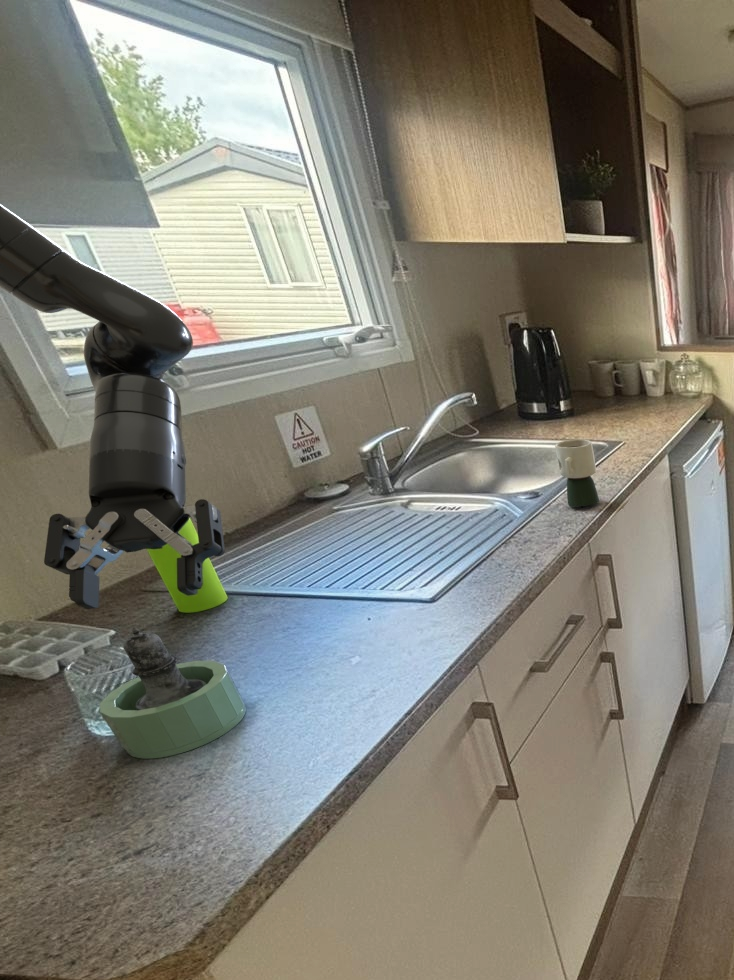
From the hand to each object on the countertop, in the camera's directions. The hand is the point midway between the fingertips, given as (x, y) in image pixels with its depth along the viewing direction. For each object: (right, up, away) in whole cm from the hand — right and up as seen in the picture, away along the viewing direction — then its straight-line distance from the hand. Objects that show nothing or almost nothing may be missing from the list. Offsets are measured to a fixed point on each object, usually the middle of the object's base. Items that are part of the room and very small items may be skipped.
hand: (138, 599), depth 69 cm
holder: (+1, -14, +4) cm, 15 cm away
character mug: (+25, +20, +68) cm, 75 cm away
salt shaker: (+1, -14, +4) cm, 14 cm away
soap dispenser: (-21, -1, +31) cm, 37 cm away
